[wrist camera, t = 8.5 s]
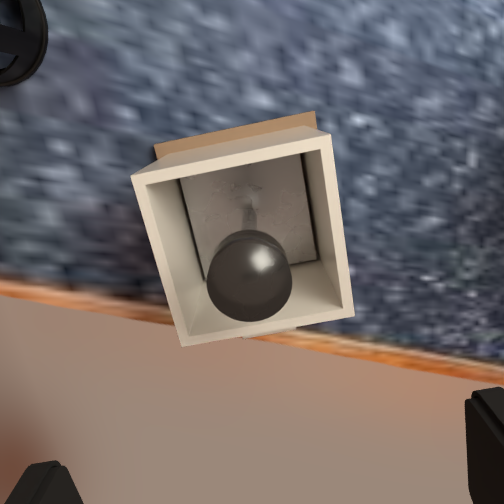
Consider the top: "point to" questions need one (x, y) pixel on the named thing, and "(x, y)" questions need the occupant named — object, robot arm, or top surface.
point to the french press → (24, 43)
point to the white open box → (184, 244)
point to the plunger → (250, 233)
